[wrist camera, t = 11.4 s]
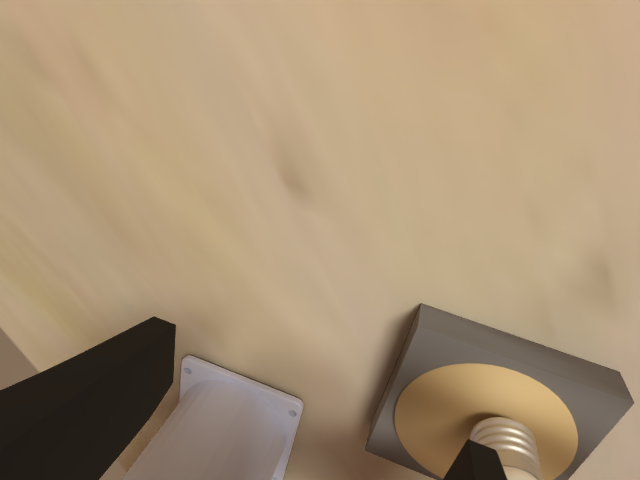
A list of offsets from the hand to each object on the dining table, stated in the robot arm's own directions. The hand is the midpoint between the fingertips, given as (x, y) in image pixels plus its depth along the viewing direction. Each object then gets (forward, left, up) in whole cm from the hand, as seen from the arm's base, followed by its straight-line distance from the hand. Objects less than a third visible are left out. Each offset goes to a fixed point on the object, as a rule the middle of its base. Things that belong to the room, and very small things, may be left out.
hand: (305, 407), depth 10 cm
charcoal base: (-8, -8, -10) cm, 15 cm away
